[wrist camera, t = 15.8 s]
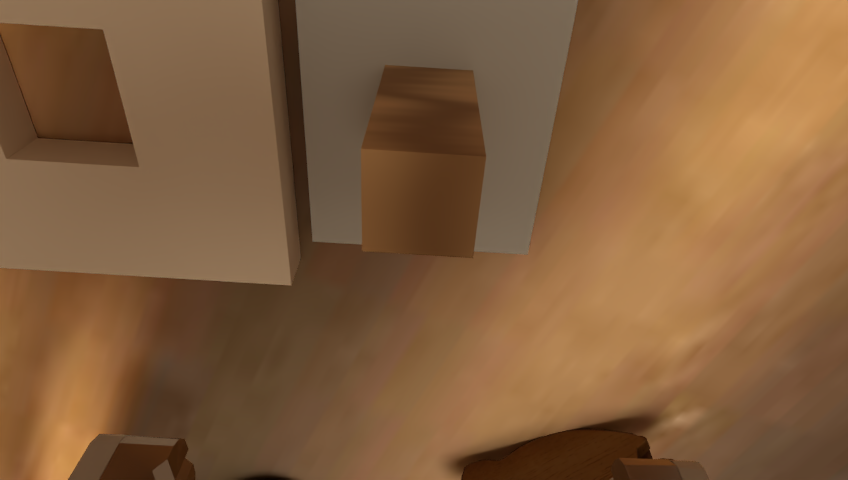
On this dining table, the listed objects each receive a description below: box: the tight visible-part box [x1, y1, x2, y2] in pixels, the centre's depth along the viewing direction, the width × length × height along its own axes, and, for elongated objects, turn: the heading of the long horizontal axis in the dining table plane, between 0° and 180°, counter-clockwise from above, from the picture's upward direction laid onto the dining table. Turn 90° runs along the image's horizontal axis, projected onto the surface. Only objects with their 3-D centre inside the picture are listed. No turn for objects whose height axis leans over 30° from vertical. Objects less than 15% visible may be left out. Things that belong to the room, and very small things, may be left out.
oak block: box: [361, 65, 486, 258], centre depth 22 cm, size 4×4×9 cm
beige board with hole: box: [0, 0, 301, 285], centre depth 26 cm, size 20×20×2 cm
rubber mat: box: [295, 0, 578, 255], centre depth 26 cm, size 12×16×1 cm
